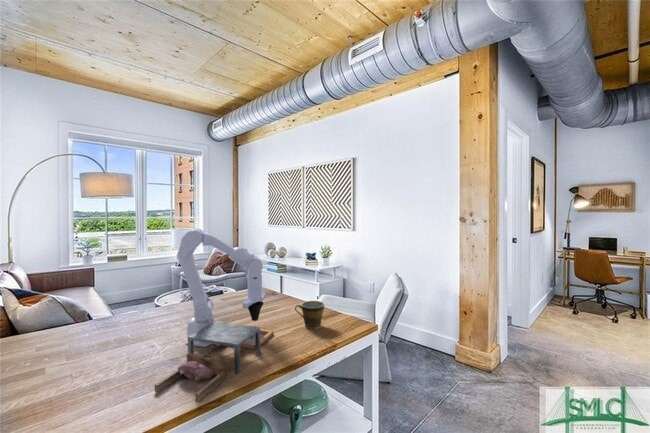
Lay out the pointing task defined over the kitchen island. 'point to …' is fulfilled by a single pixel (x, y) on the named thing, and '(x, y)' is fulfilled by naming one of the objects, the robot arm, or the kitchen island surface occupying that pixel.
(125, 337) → the kitchen island surface
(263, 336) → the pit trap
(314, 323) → the ceramic cup
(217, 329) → the small grey table
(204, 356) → the mallet
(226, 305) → the kitchen island surface
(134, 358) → the kitchen island surface
